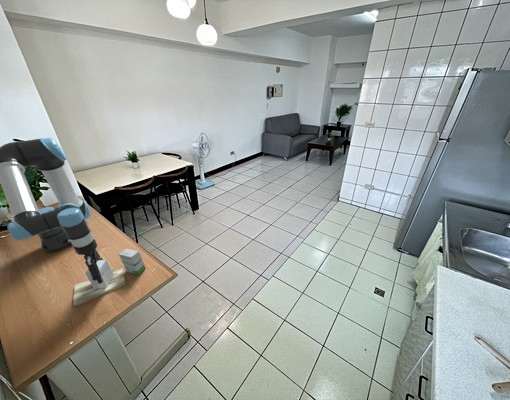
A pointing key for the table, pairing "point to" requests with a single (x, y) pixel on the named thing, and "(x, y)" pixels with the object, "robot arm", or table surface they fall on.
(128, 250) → the ink box
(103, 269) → the small box
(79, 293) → the board
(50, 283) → the table surface
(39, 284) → the table surface
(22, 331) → the table surface
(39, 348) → the table surface
